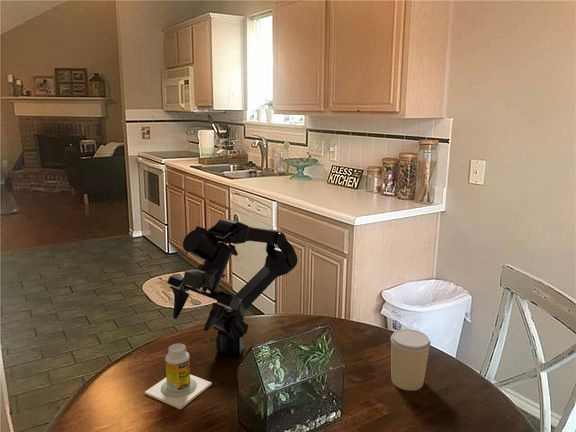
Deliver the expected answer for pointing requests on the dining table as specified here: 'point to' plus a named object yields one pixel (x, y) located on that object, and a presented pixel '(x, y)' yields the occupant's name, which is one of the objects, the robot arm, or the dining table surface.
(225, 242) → the robot arm
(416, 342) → the coffee cup
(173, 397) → the card
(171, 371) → the supplement bottle
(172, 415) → the dining table surface
